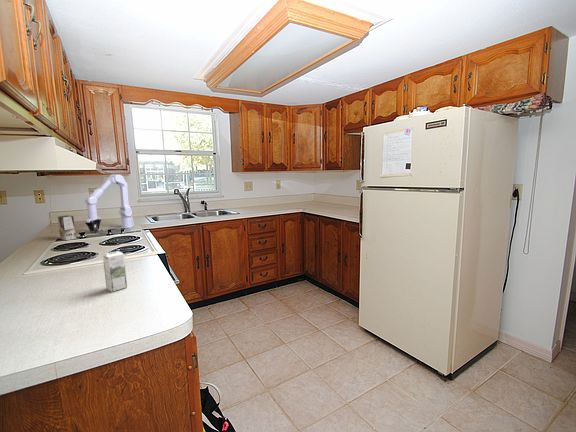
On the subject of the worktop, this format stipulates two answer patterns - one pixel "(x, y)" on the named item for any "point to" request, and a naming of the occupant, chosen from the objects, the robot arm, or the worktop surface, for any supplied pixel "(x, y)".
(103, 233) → the lower end link
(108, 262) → the syrup box
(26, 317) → the worktop surface
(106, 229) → the upper end link
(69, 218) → the coffee box
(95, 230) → the pin
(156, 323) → the worktop surface
